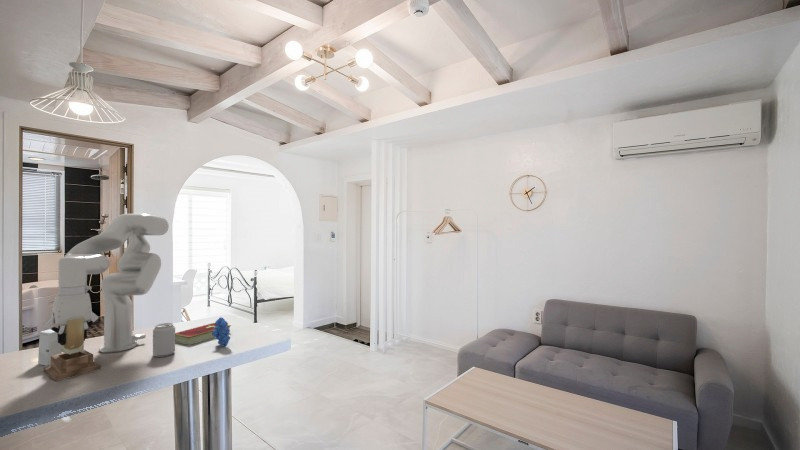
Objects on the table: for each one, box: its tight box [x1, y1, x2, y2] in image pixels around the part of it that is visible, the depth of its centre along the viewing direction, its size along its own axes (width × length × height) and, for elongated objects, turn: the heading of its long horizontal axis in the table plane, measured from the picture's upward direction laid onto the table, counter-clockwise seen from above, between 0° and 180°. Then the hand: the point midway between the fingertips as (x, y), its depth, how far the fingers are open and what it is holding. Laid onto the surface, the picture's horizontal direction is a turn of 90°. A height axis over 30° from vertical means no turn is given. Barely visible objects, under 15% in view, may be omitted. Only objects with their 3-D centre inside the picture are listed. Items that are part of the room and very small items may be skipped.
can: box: [152, 322, 176, 358], centre depth 146 cm, size 8×8×12 cm
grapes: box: [212, 316, 231, 347], centre depth 156 cm, size 12×7×12 cm, turn 49°
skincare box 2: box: [60, 317, 85, 354], centre depth 129 cm, size 6×4×12 cm
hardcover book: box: [175, 322, 232, 346], centre depth 169 cm, size 12×21×4 cm, turn 154°
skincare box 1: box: [37, 329, 63, 367], centre depth 136 cm, size 6×4×12 cm
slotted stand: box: [42, 349, 102, 382], centre depth 129 cm, size 12×14×6 cm
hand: (72, 341), depth 129 cm, fingers closed on skincare box 2, 4 cm apart
